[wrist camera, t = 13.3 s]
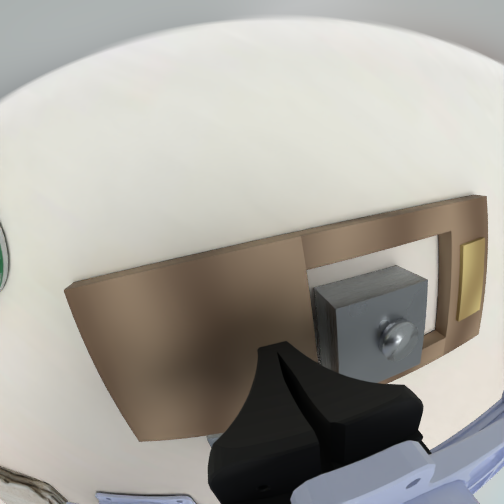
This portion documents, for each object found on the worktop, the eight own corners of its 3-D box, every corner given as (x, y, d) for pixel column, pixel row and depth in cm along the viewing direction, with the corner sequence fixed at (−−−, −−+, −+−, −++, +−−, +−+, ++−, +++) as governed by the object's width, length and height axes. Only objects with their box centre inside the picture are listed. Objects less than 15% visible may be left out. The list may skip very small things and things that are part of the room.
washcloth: (104, 525, 18) (100, 542, 15) (15, 499, 17) (10, 512, 14) (48, 476, 16) (40, 496, 13) (-34, 448, 14) (-42, 461, 11)
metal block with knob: (320, 365, 15) (343, 404, 12) (312, 286, 14) (341, 314, 11) (393, 340, 16) (426, 369, 12) (394, 264, 15) (435, 283, 11)
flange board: (142, 428, 15) (138, 445, 13) (74, 282, 12) (60, 292, 11) (468, 328, 17) (480, 335, 15) (473, 194, 14) (489, 196, 13)
